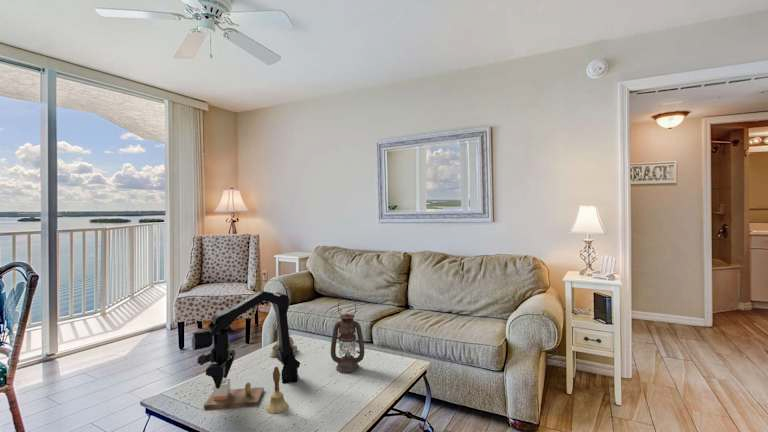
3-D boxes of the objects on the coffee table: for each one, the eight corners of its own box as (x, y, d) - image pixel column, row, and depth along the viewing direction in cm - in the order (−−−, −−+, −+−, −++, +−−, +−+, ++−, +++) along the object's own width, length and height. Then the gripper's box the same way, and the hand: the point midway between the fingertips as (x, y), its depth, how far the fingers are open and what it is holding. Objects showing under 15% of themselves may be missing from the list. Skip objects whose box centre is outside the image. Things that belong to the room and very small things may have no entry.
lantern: (363, 373, 172) (363, 298, 172) (329, 373, 172) (328, 299, 172) (365, 363, 183) (364, 293, 183) (332, 364, 183) (331, 293, 183)
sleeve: (230, 393, 151) (230, 378, 151) (226, 399, 146) (226, 384, 146) (217, 394, 151) (217, 379, 151) (213, 400, 146) (213, 385, 146)
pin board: (263, 390, 156) (263, 375, 156) (257, 405, 144) (257, 389, 144) (214, 393, 154) (214, 378, 154) (203, 409, 142) (203, 392, 142)
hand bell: (282, 414, 138) (281, 372, 137) (261, 412, 139) (261, 370, 139) (292, 403, 146) (291, 363, 145) (272, 401, 147) (272, 361, 147)
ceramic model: (282, 360, 189) (282, 340, 189) (266, 356, 194) (266, 337, 194) (300, 351, 201) (300, 332, 201) (285, 347, 206) (284, 329, 206)
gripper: (208, 337, 156) (208, 374, 157) (190, 354, 138) (191, 395, 138) (235, 336, 158) (236, 372, 158) (222, 352, 139) (222, 393, 139)
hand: (221, 383), depth 148 cm, fingers open, 9 cm apart
